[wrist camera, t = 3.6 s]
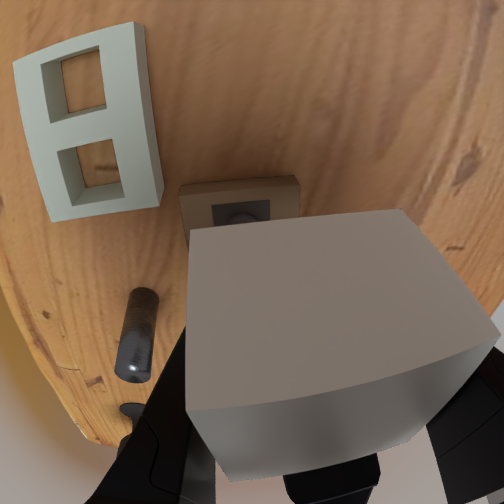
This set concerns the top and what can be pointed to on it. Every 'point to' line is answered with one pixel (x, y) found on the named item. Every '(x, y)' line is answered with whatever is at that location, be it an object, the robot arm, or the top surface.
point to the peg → (137, 337)
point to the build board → (92, 125)
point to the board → (238, 202)
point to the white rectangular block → (322, 339)
